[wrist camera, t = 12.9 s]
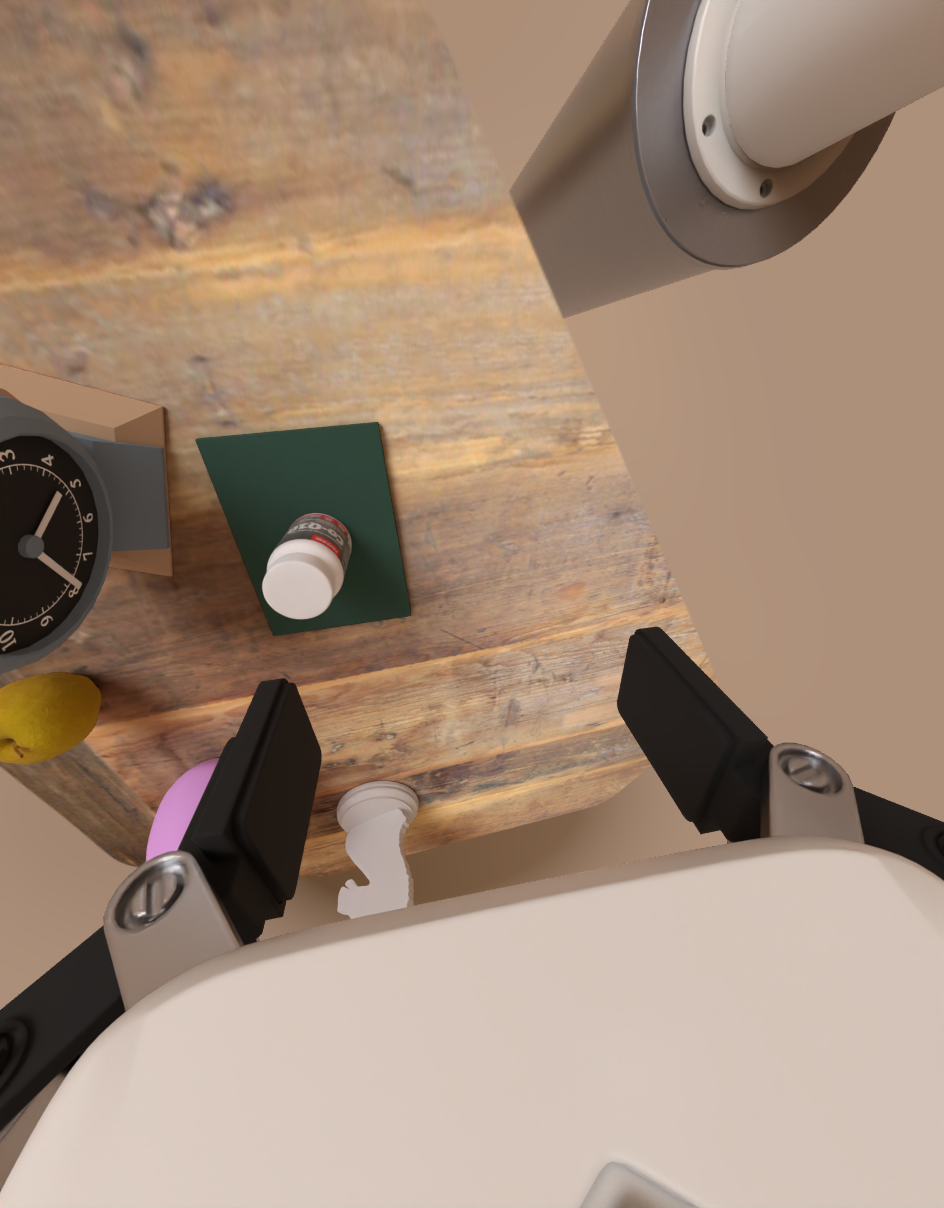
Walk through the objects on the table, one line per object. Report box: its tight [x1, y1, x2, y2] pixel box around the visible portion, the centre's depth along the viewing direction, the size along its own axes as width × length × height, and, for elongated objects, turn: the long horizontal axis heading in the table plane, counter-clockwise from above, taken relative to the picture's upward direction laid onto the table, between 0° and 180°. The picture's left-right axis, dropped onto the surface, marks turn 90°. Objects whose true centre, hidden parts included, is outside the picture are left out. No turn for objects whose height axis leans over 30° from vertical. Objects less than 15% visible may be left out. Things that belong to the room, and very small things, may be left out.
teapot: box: [146, 758, 219, 862], centre depth 39 cm, size 13×20×11 cm, turn 142°
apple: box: [0, 672, 102, 764], centre depth 30 cm, size 6×6×8 cm
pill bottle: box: [262, 513, 352, 619], centre depth 27 cm, size 5×5×8 cm
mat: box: [196, 422, 411, 636], centre depth 31 cm, size 16×12×1 cm
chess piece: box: [336, 781, 419, 919], centre depth 43 cm, size 10×10×15 cm
